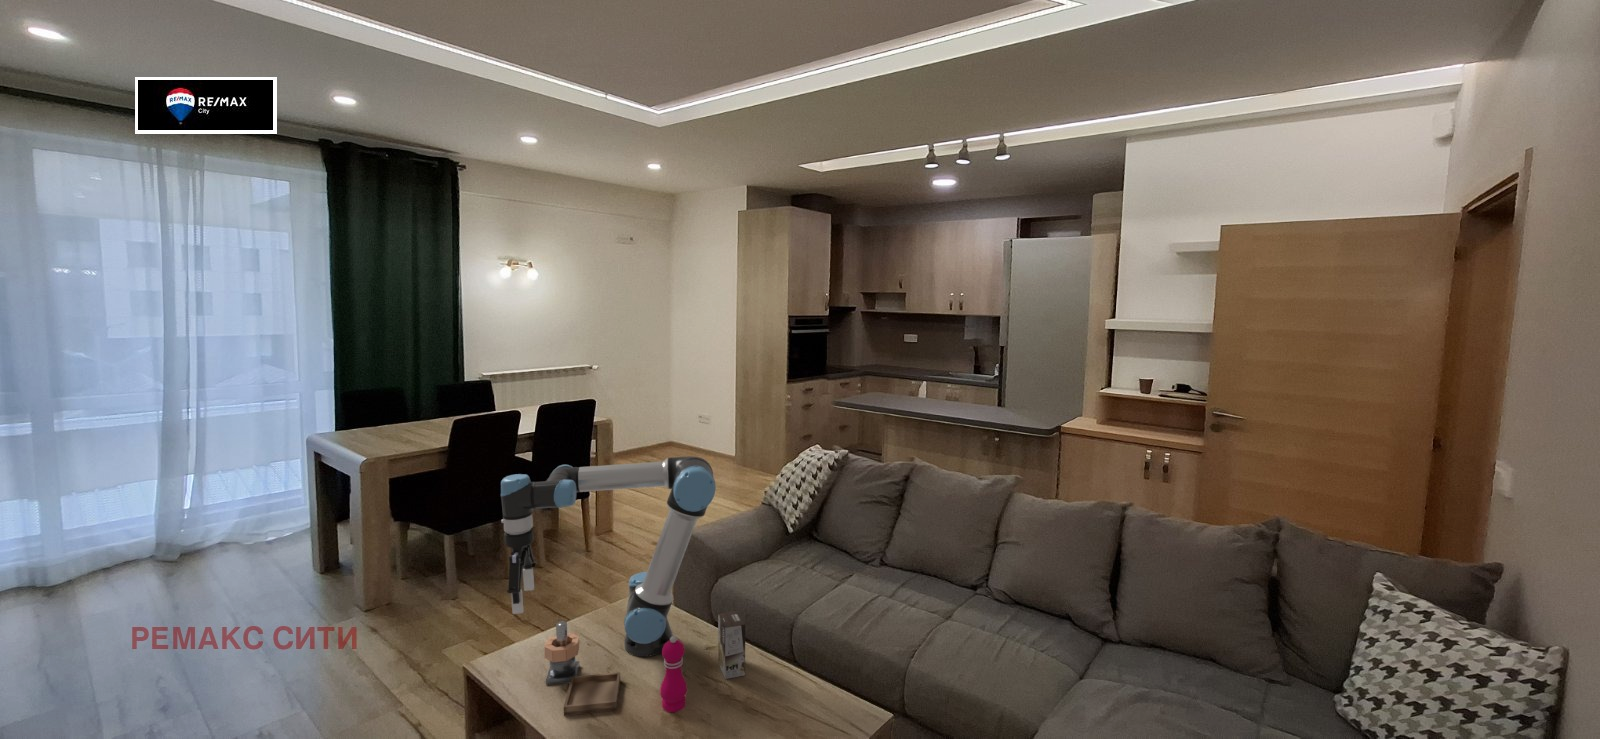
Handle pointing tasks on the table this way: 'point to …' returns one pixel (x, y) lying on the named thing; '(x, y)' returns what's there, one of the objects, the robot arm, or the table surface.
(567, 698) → the tray
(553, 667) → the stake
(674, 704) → the pepper mill
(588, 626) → the table surface
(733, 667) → the coffee box
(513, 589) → the robot arm
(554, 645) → the ring
